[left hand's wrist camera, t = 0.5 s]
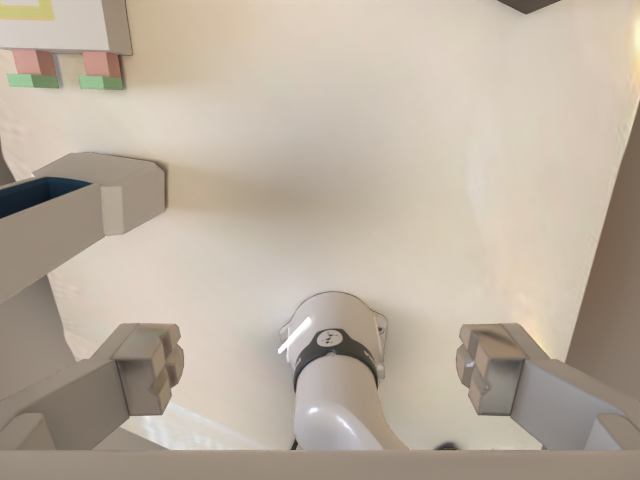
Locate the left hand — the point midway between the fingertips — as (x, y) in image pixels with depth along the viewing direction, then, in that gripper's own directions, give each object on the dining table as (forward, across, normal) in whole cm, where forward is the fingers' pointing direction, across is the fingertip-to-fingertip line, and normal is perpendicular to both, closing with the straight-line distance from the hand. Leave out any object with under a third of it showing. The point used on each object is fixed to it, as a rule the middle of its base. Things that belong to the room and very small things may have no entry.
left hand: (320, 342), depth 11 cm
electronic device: (+46, -29, -5) cm, 54 cm away
